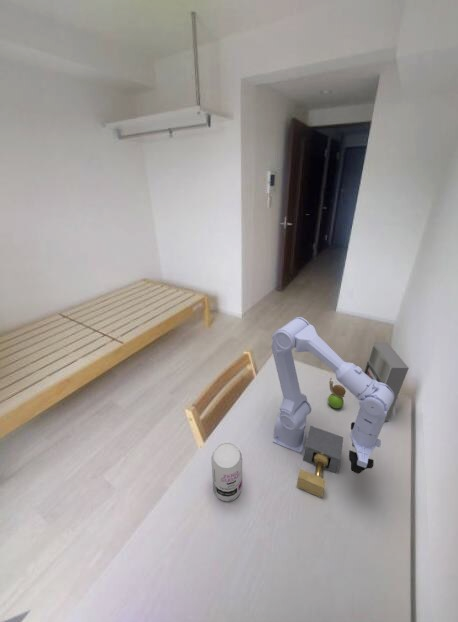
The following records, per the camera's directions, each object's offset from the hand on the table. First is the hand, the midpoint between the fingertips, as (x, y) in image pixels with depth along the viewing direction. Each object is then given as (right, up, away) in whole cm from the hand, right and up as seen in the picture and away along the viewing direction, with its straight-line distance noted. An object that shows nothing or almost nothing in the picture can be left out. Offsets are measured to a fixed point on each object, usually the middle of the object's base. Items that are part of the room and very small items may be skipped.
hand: (355, 458), depth 74 cm
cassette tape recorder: (+19, +4, +28) cm, 34 cm away
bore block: (-6, -5, +11) cm, 13 cm away
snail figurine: (+5, +4, +29) cm, 30 cm away
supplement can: (-36, -10, +3) cm, 37 cm away
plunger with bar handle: (-9, -7, +8) cm, 14 cm away
